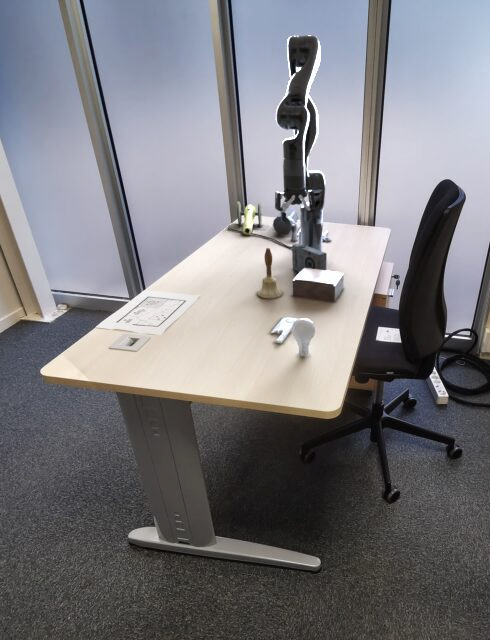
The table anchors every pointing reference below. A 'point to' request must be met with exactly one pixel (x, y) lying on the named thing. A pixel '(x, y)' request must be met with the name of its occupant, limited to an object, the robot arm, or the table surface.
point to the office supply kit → (290, 225)
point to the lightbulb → (303, 334)
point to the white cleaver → (284, 328)
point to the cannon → (248, 217)
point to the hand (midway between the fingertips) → (295, 221)
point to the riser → (318, 284)
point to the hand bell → (269, 280)
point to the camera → (307, 258)
